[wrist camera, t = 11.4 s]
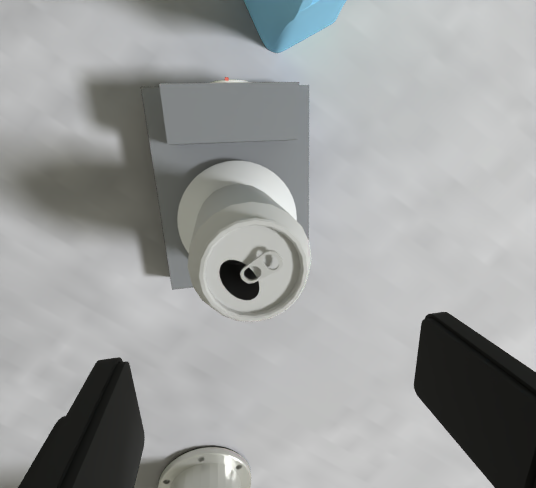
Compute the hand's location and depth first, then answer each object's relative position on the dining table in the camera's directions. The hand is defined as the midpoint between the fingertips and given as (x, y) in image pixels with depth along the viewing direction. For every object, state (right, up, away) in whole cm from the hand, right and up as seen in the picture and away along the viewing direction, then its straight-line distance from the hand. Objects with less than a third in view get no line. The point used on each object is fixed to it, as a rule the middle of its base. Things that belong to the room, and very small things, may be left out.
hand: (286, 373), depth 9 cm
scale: (-4, +10, +21) cm, 24 cm away
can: (-3, +6, +18) cm, 20 cm away
